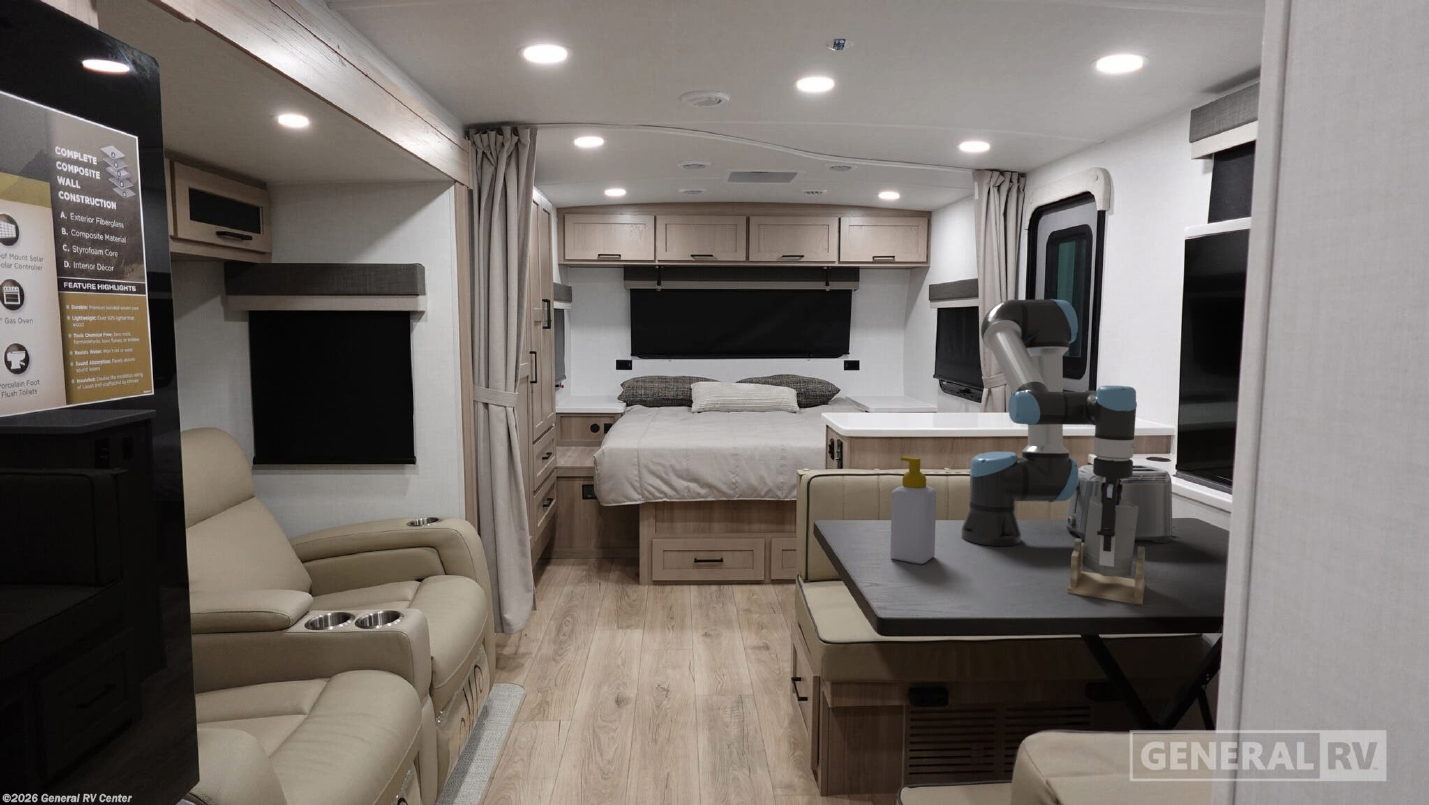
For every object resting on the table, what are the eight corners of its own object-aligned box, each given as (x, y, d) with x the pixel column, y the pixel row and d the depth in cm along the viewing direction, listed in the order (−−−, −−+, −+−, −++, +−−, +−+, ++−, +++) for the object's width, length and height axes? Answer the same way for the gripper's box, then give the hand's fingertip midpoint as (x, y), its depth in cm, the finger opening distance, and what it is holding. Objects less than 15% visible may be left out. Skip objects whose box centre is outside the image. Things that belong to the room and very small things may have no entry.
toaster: (1054, 528, 214) (1057, 462, 212) (1160, 529, 213) (1164, 463, 211) (1080, 545, 198) (1083, 473, 196) (1195, 546, 196) (1200, 474, 194)
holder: (1067, 592, 162) (1069, 547, 161) (1075, 574, 174) (1077, 532, 173) (1142, 605, 155) (1144, 557, 154) (1144, 585, 167) (1147, 541, 166)
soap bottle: (901, 550, 193) (904, 454, 191) (936, 556, 188) (939, 457, 185) (888, 559, 186) (890, 459, 183) (923, 566, 181) (926, 462, 178)
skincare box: (1081, 565, 168) (1084, 495, 166) (1111, 564, 168) (1115, 495, 167) (1104, 577, 159) (1107, 504, 158) (1136, 576, 160) (1139, 503, 159)
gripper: (1130, 467, 150) (1124, 576, 152) (1135, 452, 169) (1130, 548, 171) (1088, 464, 154) (1083, 570, 156) (1098, 449, 173) (1094, 543, 175)
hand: (1108, 558), depth 164 cm, fingers closed on skincare box, 10 cm apart
